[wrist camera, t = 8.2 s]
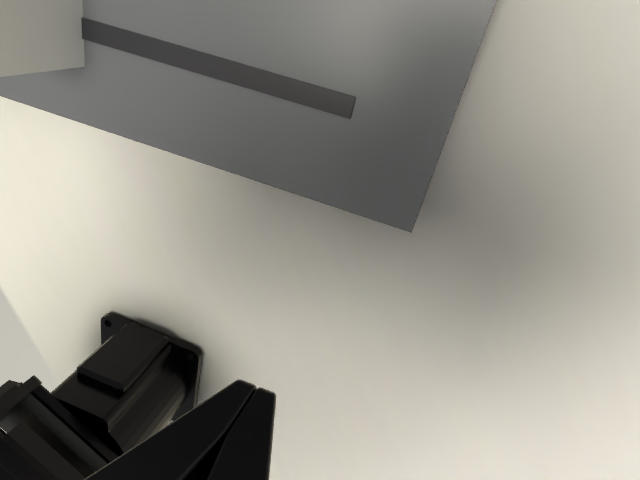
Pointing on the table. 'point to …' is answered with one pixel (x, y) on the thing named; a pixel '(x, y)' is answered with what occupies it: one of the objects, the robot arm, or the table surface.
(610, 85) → the table surface
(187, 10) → the console
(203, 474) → the robot arm
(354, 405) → the table surface
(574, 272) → the table surface
